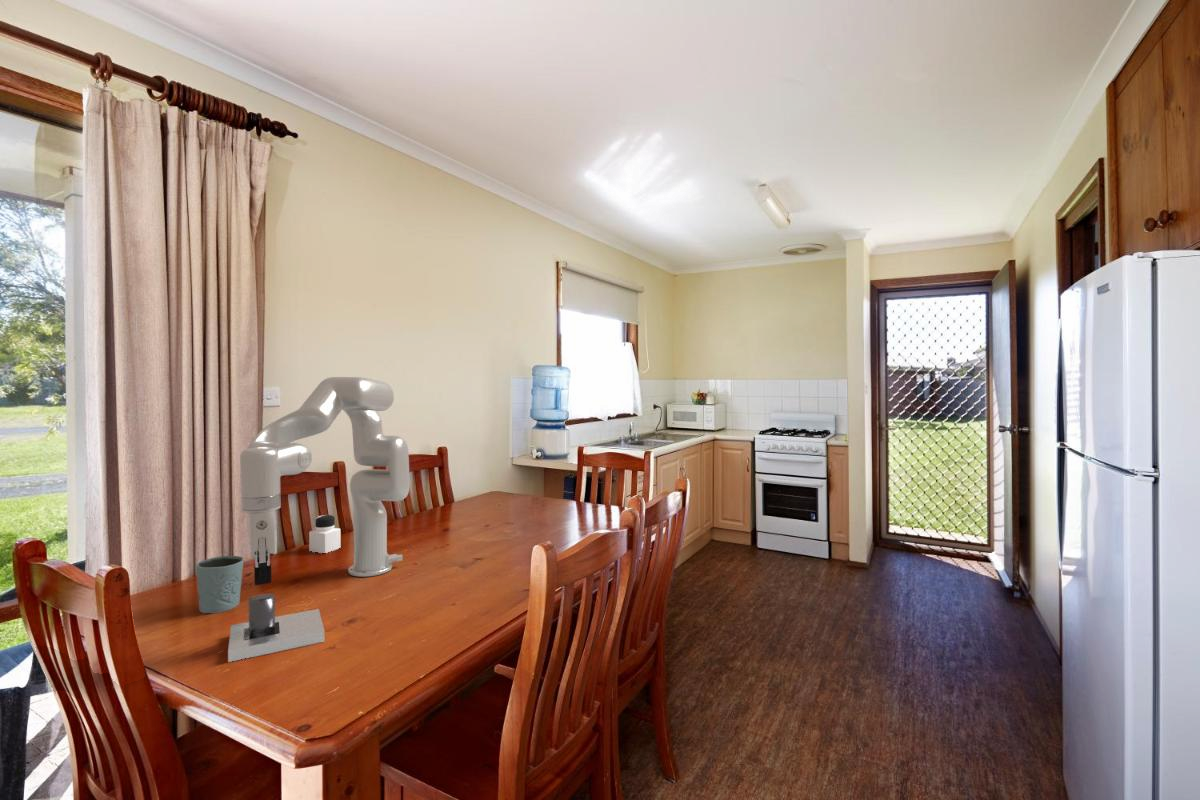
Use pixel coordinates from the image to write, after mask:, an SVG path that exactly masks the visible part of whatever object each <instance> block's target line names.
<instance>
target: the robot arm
mask: <svg viewBox="0 0 1200 800" xmlns="http://www.w3.org/2000/svg"><path fill="white" fill-rule="evenodd" d="M394 395H395V394H394V391H393V389H392V387H391V385H389V384H388V383H387V382H385V381H380V380H374V379H372V378H366V377H360V376H356V377H355V376H331V377H327V378H325V379H323V380H322V381H320V383H319V384H317V387H316V388H315V389H313V391H312V392H311V394H310V395H309V396H308V398H307V399H305V401H304V402H303V403H302V405H301V406H300V407H299V408H298V409H297V410H294V411H292V412H290V413H288V414H286V415H285V416H284V415H283V416H282V417H280V418H278V419H276V420H275V421H273V422H270V423H269V424H267V425H265V427H263V429H261V430H260V431H259V432H258V433H257V435H256V436H255V437H254V438H253V439H251V440H252V441H250V443H249V445H248V446H247V447H246V449H243V450H242V451H241V452H240V457H239V461H240V464H239V465H240V470H239V471H240V494H241V495H240V501H241V502H240V506H241V507H240V508H241V510H240V511H241V512H242V513H245V514H247V521H248V538H249V546H250V554H251V557H252V558H254V559H255V560H254V561H255V565H254V568H253V571H254V575H253V576H254V577H253V579H254V585H255V586H259V585H260V586H261V585H267V584H271V583H272V563H271V561H270V560H271V559H270V555H272V554H273V555H274V556H275V555H276V554H277V553H278V531H277V529H278V528H277V527H278V526H277V522H278V521H277V512H276V511H277V510H278V509H281V508H282V507H281V505H282V504H281V503H282V501H281V500H282V499H281V497H282V496H281V493H282V492H281V477H282V476H294V475H299V474H301V473H303V472H304V471H306V470H308V469H309V467H310V465H311V464H312V460H313V456H312V452H311V449H310V448H309V447H307V446H306V445H304V444H302V443H298V442H295V441H297V440H301V439H304V438H305V439H306V438H308V437H309V438H310V437H313V436H316V435H318V434H321V433H324V432H326V431H327V430H328V429H329V428H330V427H331V426H332V424H333V422H335V420H336V419H337V417H338V416H339V414H340V413H341V411H342V410H343V411H344V413H345V414H346V415H347V416H348V418H349V420H350V422H351V430H352V433H351V434H352V445H353V446H352V447H353V457H354V461H355V463H356V464H357V465H360V466H365V467H387V469H376V468H375V469H371V468H369V469H361V470H359V471H357V472H355V473H354V474H352V476H351V478H350V482H349V488H350V494H351V498H352V505H353V507H352V508H353V564H352V565H351V566H349V568H348V570H347V571H348V572H347V573H348V574H349V575H351V576H354V577H362V578H363V577H366V578H367V577H374V576H375V577H376V576H379V575H383V574H386V573H387V572H390V571H391V569H392V568H393V562H402V561H403V554H397V553H393V554H389V553H388V550H387V549H388V548H387V547H388V543H387V542H388V541H387V540H388V539H387V538H388V535H387V534H388V532H387V531H388V530H387V528H388V526H387V525H388V517H387V516H388V514H387V510H386V508H385V505H384V504H383V502H384V501H385V502H400V501H403V500H404V499H406V498H407V497H408V495H409V492H410V487H411V483H410V481H411V479H410V478H411V477H410V459H409V447H408V444H407V441H405V439H404V438H402V437H401V436H399V435H385V434H384V433H383V422H382V417H381V415H380V413H379V412H384V411H387V410H389V409H390V408H391V406H392V405H393V403H394V398H395V397H394Z"/></svg>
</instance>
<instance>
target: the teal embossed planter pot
mask: <svg viewBox="0 0 1200 800" xmlns="http://www.w3.org/2000/svg"><path fill="white" fill-rule="evenodd" d="M244 562H245V559H244V557H242V556H239V555H221V556H216V557H210V558H207V559H204V560H201V561H199V562H198V563H196V565H195V567H196V579H197V583H196V584H197V593H198V594H197V595H198V600H199V601H198V609H199V612H200V613H201V612H202V613H201V614H204V613H214V614H219V613H218V612H220V613H224V612H223V611H225V612H227V610H228V611H230V609H231V610H233V609H235V608H237V607H238V606H239V604H240V602H241V601H240V599H241V588H242V580H243V579H242V578H243V568H244ZM237 605H238V606H237ZM236 606H237V607H236ZM234 607H235V608H234ZM232 608H233V609H232Z"/></svg>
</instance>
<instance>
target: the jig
mask: <svg viewBox="0 0 1200 800" xmlns="http://www.w3.org/2000/svg"><path fill="white" fill-rule="evenodd" d="M229 633H230V634H229V640H228V649H227V663H231V662H232V661H233V662H237V661H242V660H246V659H249V658H250V657H251V658H257V657H260V656H264V655H269V654H275V653H279V652H282V651H287V650H292V649H296V648H301V647H306V646H311V645H315V644H319V643H324V642H325V628H324V624H323V620H322V616H321V613H320V608H315V609H312V610H305V611H300V612H296V613H290V614H288V613H287V614H284V615H278V616H275V634H274V635H269V636H264V637H259V638H254V639H249V621H247V622H241V623H237V624H236V623H235V624H231V625H230V632H229ZM245 658H246V659H245ZM251 658H250V659H251ZM241 659H242V660H241ZM233 662H232V663H233Z"/></svg>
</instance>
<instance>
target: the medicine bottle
mask: <svg viewBox="0 0 1200 800" xmlns="http://www.w3.org/2000/svg"><path fill="white" fill-rule="evenodd" d="M335 519H336V518H335V516H333V515H332V514H325V515H319V516H317V517H316V518H315V520H314V523H315V524H314V525H315V526H314V530H310V531H309V533H308V535H309V536H308V538H309V539H308V543H309V544H308V547H309V548H308V551H309V552H310V551H312V552H311V553H315V552H318V553H317V554H322V553H326V554H328V552H329V553H331V551H332V552H334V551H337V550H339V548H340V549H341V546H342V545H341V542H342V541H341V539H342V538H341V534H342V533H341V528H338V527H335V525H336V523H335Z"/></svg>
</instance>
